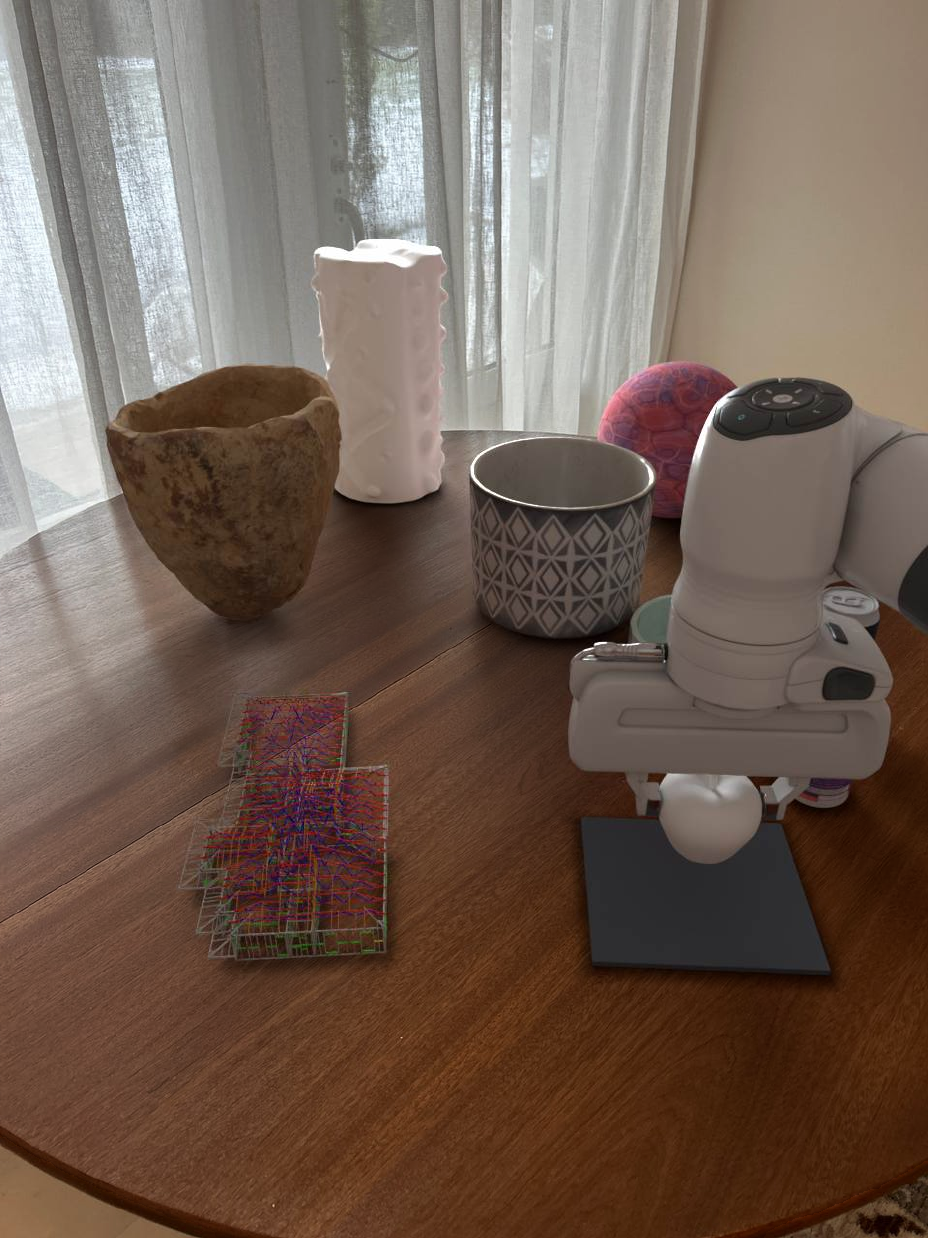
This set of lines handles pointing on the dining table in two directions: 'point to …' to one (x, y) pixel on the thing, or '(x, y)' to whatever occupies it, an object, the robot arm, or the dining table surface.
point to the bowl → (232, 481)
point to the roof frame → (284, 864)
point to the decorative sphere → (664, 423)
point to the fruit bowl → (650, 621)
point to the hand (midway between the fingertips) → (708, 811)
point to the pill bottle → (825, 792)
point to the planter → (559, 534)
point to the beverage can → (853, 606)
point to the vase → (384, 365)
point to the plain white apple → (709, 814)
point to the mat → (696, 903)
